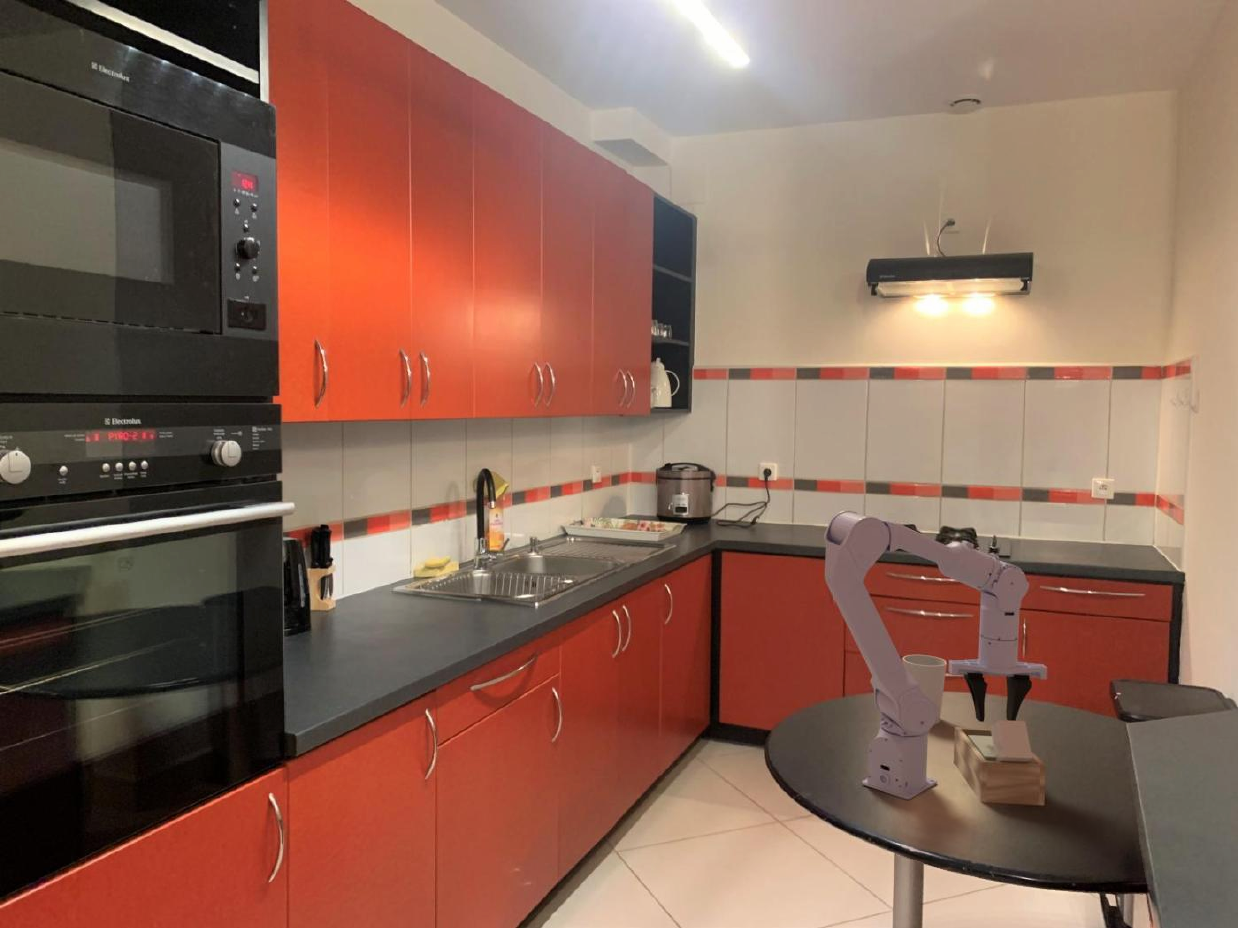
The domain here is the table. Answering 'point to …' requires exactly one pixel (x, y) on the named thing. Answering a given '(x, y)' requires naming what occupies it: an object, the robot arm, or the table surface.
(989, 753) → the pale grey flat block
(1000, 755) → the pinkish beige block
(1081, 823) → the table surface
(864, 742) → the table surface
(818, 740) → the table surface
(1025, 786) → the box
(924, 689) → the cup
